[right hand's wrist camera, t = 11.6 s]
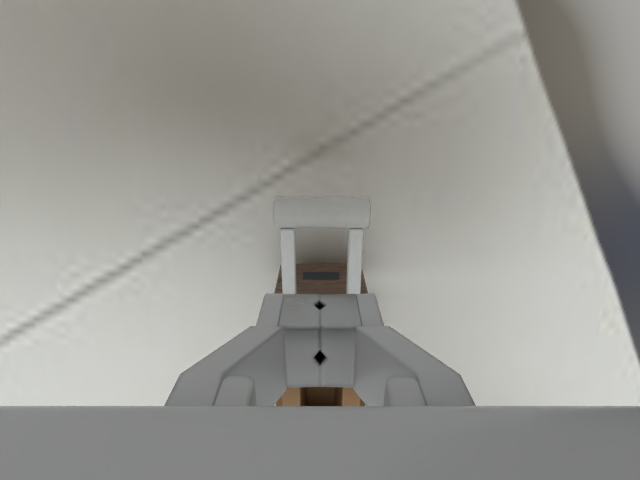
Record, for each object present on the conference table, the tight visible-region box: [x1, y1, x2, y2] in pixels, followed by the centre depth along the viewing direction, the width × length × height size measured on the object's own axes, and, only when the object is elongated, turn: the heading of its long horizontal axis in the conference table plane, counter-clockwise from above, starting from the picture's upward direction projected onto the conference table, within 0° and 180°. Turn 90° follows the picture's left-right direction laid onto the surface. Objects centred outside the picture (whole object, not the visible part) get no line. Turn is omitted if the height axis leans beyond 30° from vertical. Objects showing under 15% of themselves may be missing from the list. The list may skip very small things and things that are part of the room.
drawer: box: [273, 197, 370, 406], centre depth 20 cm, size 22×5×7 cm, turn 0°
